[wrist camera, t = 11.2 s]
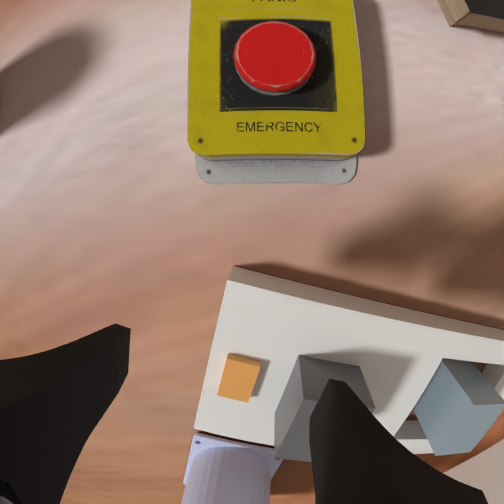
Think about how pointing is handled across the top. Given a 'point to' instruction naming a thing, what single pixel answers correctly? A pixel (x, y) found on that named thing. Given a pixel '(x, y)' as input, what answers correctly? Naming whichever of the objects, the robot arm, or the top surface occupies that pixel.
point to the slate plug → (457, 407)
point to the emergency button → (275, 91)
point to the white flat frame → (328, 354)
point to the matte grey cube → (310, 402)
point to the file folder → (475, 13)
